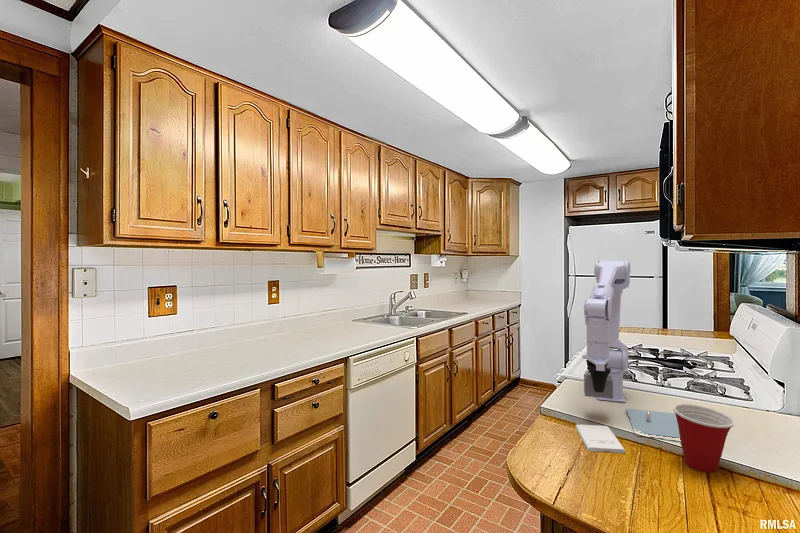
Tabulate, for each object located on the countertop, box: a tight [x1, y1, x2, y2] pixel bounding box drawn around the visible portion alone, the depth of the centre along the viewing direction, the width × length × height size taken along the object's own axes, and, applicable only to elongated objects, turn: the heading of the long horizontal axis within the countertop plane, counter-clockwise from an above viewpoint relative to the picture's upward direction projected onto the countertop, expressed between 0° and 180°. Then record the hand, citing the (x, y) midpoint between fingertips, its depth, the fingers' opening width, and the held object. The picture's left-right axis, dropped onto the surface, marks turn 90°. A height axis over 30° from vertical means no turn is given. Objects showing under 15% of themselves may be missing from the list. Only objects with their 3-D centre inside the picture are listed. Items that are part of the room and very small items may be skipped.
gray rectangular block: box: [583, 373, 613, 399], centre depth 113 cm, size 4×7×5 cm, turn 68°
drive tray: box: [625, 407, 680, 438], centre depth 106 cm, size 16×18×4 cm
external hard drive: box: [575, 424, 626, 454], centre depth 101 cm, size 2×8×12 cm
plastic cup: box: [672, 403, 736, 474], centre depth 88 cm, size 11×11×12 cm
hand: (598, 388), depth 113 cm, fingers closed on gray rectangular block, 4 cm apart
